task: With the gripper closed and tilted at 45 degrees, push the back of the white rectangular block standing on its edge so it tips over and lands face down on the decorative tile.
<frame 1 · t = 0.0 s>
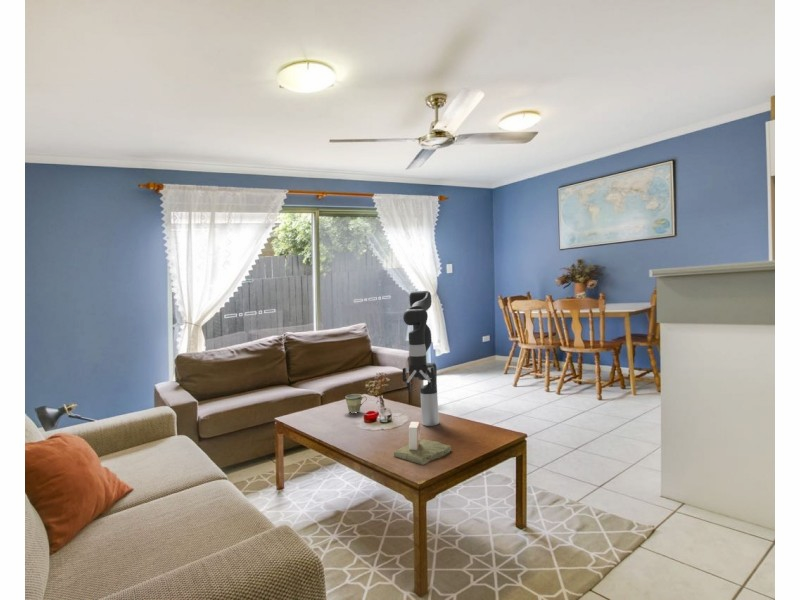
hand: (419, 390, 195), 29 cm above the table, tool pointing down, fingers open, 8 cm apart
white rectangular block: (414, 446, 200), point 3 cm above the table
decorative tile: (423, 455, 199), on the table
ceramic cup: (356, 412, 270), on the table
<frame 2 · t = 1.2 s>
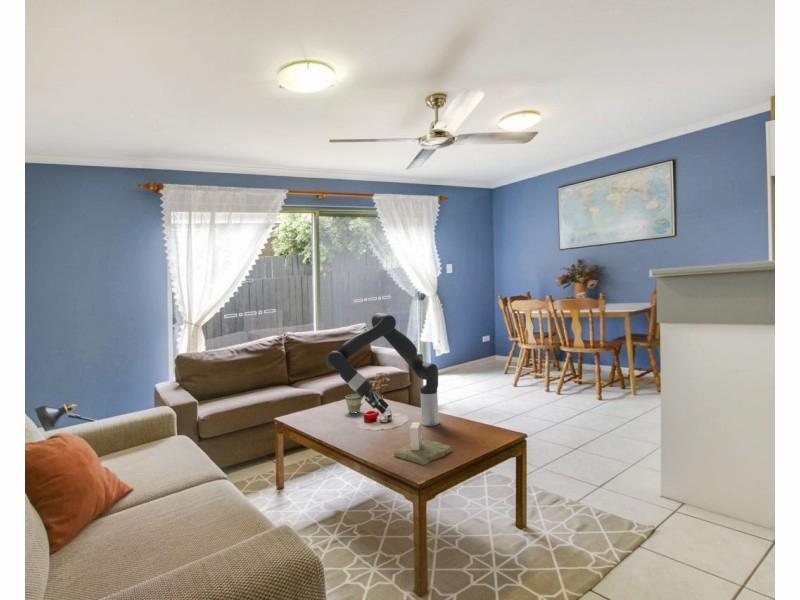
hand: (385, 409, 200), 20 cm above the table, tool tilted 45°, fingers open, 8 cm apart
white rectangular block: (416, 446, 199), point 3 cm above the table
everything else where it was.
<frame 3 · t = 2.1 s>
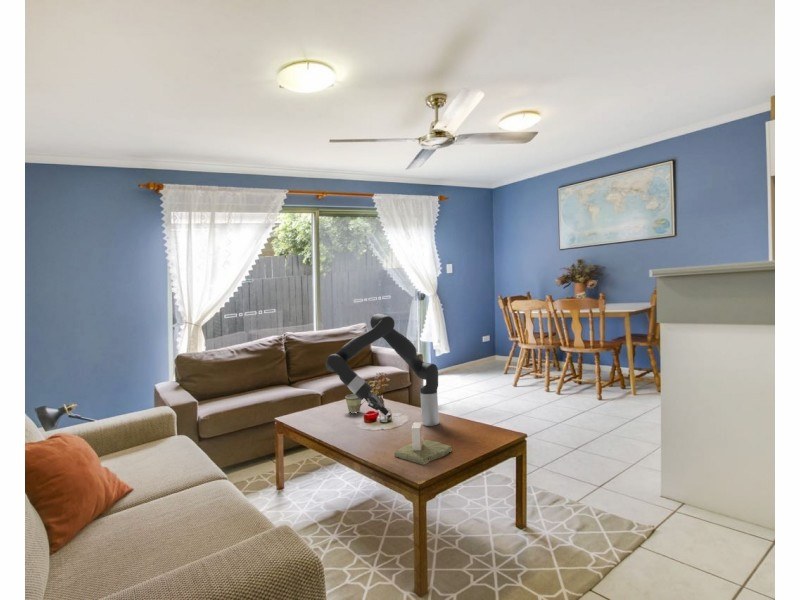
hand: (387, 413, 201), 18 cm above the table, tool tilted 45°, fingers closed
white rectangular block: (418, 447, 199), point 3 cm above the table, touching decorative tile
decorative tile: (424, 455, 198), on the table, touching white rectangular block
everything else where it was.
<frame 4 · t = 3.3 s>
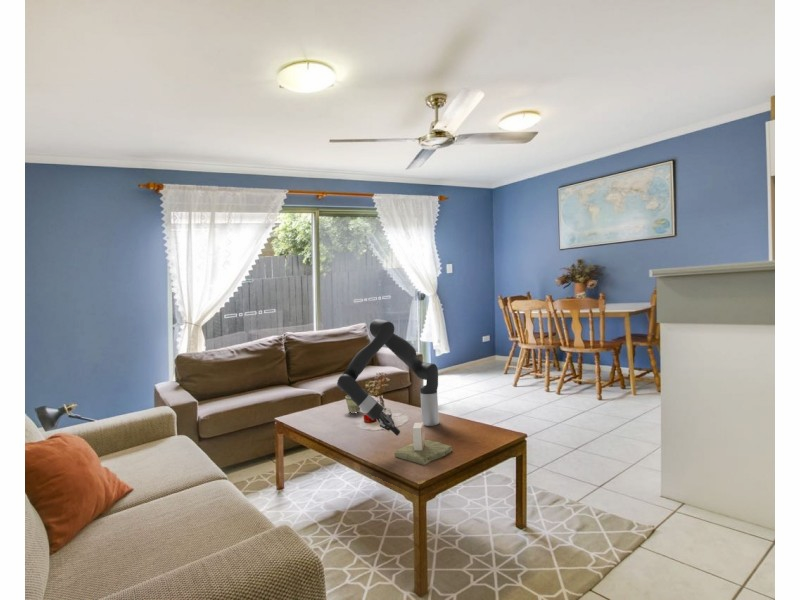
hand: (398, 433, 200), 9 cm above the table, tool tilted 45°, fingers closed
white rectangular block: (419, 447, 199), point 3 cm above the table
decorative tile: (424, 455, 198), on the table
everything else where it was.
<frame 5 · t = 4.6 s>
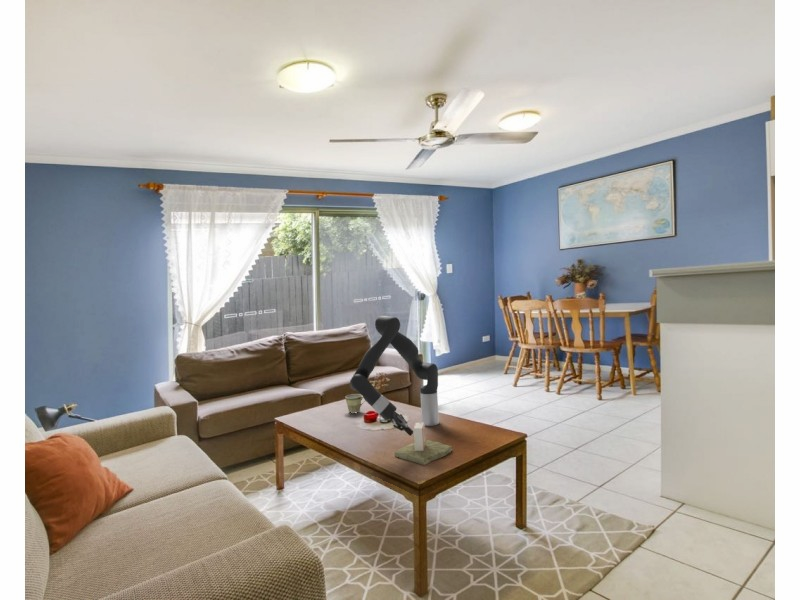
hand: (412, 433, 199), 9 cm above the table, tool tilted 45°, fingers closed
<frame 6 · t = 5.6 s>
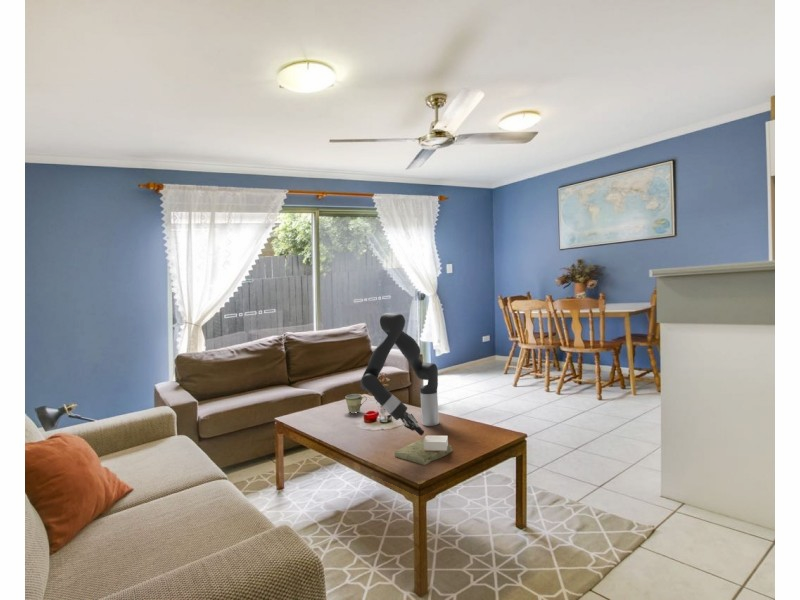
hand: (422, 433, 199), 9 cm above the table, tool tilted 45°, fingers closed
white rectangular block: (425, 443, 198), point 5 cm above the table, tilted 90°, touching decorative tile
decorative tile: (424, 455, 198), on the table, touching white rectangular block
everything else where it was.
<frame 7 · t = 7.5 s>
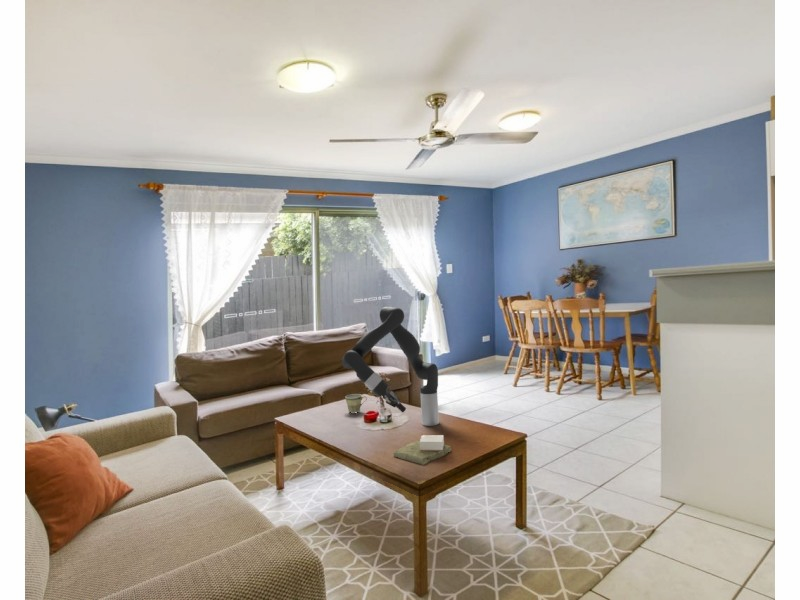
hand: (404, 410, 199), 19 cm above the table, tool tilted 45°, fingers closed
white rectangular block: (421, 442, 199), point 5 cm above the table, tilted 90°
decorative tile: (423, 455, 199), on the table
everything else where it was.
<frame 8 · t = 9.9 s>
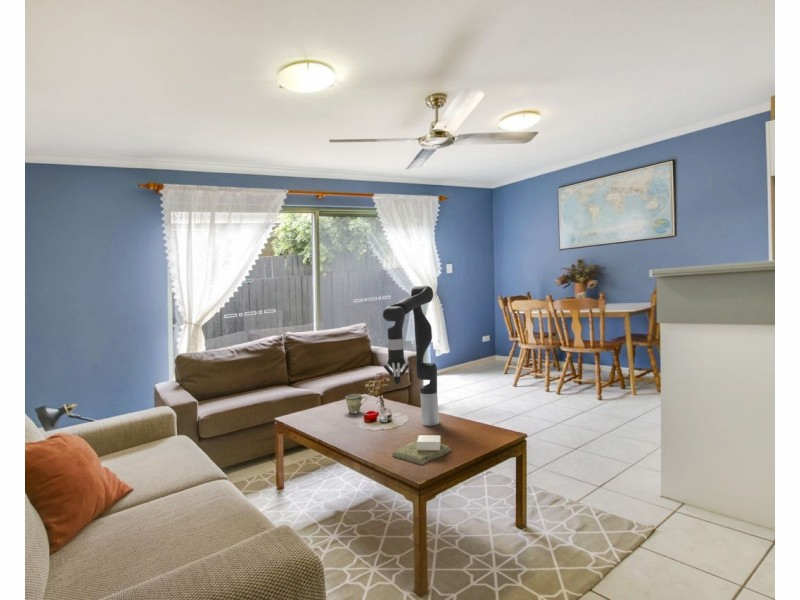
hand: (397, 383, 212), 29 cm above the table, tool pointing down, fingers closed
white rectangular block: (417, 442, 199), point 5 cm above the table, tilted 90°, touching decorative tile
decorative tile: (422, 455, 199), on the table, touching white rectangular block
everything else where it was.
at the end: white rectangular block tilted 90°; white rectangular block inside the target area on the decorative tile (2.2 cm from its centre), point 5.7 cm above the decorative tile's base; white rectangular block touching decorative tile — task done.
